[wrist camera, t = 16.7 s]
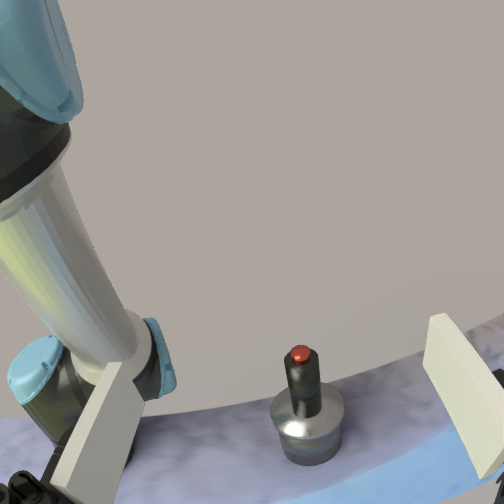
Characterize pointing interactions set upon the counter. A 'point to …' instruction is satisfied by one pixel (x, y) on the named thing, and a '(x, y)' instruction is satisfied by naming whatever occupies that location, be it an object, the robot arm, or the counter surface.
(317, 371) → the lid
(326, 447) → the pot
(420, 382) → the counter surface
